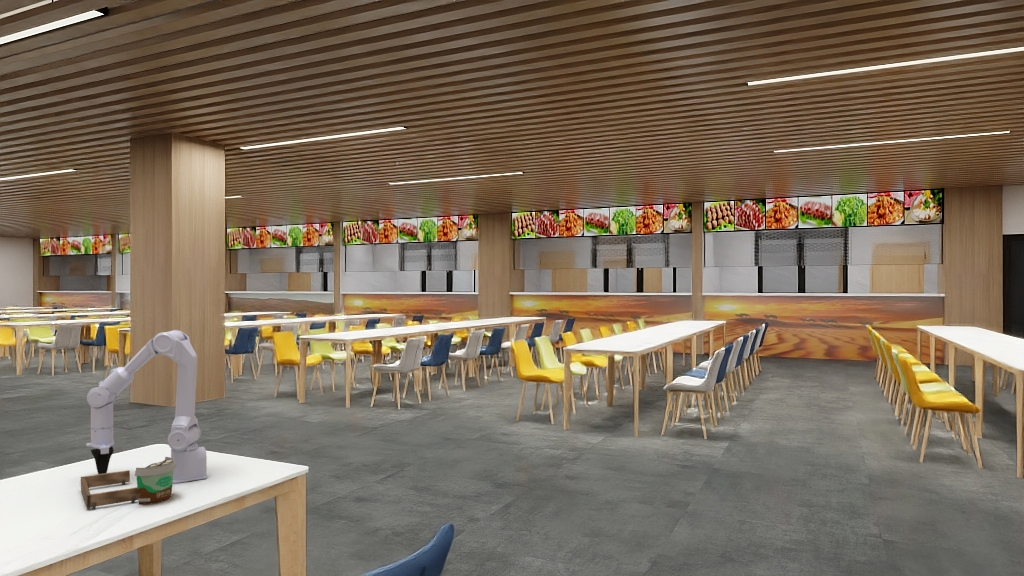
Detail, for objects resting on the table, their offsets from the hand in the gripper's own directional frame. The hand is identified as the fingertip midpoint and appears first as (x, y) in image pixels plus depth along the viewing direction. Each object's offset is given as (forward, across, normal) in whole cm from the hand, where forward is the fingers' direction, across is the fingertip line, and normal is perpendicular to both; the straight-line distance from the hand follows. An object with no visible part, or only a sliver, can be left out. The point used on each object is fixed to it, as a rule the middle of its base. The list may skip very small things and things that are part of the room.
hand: (102, 473), depth 206 cm
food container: (+2, +29, +11) cm, 31 cm away
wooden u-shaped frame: (+2, +18, 0) cm, 18 cm away
